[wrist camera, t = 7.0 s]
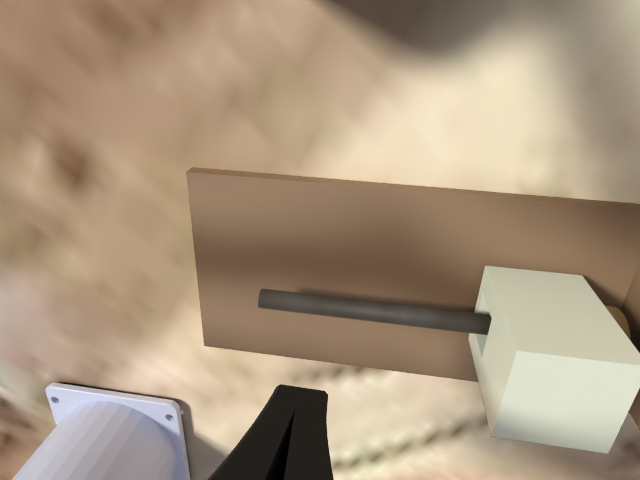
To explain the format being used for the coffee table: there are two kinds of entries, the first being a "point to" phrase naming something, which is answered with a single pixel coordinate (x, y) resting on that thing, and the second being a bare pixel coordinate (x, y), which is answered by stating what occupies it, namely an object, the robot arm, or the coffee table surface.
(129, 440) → the robot arm
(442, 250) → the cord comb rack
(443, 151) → the coffee table surface
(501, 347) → the sleeve
